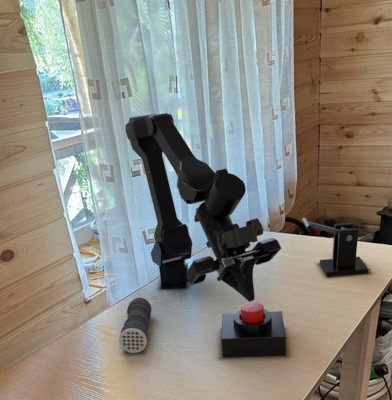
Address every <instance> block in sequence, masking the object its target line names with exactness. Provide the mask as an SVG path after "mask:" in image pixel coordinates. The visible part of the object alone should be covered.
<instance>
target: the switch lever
mask: <svg viewBox="0 0 392 400" xmlns="http://www.w3.org/2000/svg"><path fill="white" fill-rule="evenodd" d="M301 221H302V223H303V224H304V226H305V228H306V229H307V231H311V230H313V229H315V230H320V231H323V232H327V233H331V234H333V235H334V234H337V235H338V234H339V229H335V228H334V227H332V226H328V225H323V224H320V223H318V222H312V221H309V219H308V218H307V217H303V218H302V219H301ZM343 229H349V228H345V227H341V229H340V230H343Z"/></svg>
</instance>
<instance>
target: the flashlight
mask: <svg viewBox="0 0 392 400" xmlns="http://www.w3.org/2000/svg"><path fill="white" fill-rule="evenodd" d="M126 313H127V314H126V315H127V316H126V317H127V319H125V321H124V323H123V326H122V328H121V331H120V335H119V338H118V343H119V345H120V347H121V348H122V349H123V351H125V352H128V353H130V354H138V353H140V352H142V351H144V349H145V348H146V346H147V343H148V338H149V332H148V331H149V325H148V322H149V319H150V318H151V315H152V306H151V303H150V302H149V300H147V299H146V298H145V297H135V298H133V299H132V300H131V301H130V302H129V303H128V305H127V309H126Z"/></svg>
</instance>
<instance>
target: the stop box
mask: <svg viewBox="0 0 392 400" xmlns="http://www.w3.org/2000/svg"><path fill="white" fill-rule="evenodd" d="M220 335H221V336H220V337H221V338H220V340H221V341H220V342H221V354H222V355H221V356H222V358H246V357H247V358H248V357H278V356H279V357H280V356H286V353H287V347H286V345H287V343H286V341H287V335H286V329H285V323H284V317H283V311H282V310H279V311H278V310H276V311H269V310H267V309H265V308H264V319H263V320H262V321H260V322H257V323H247V322H243V321H242V320H241V309H239V310H238V311H236V312H229V313H222V317H221V334H220Z"/></svg>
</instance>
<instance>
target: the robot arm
mask: <svg viewBox="0 0 392 400" xmlns="http://www.w3.org/2000/svg"><path fill="white" fill-rule="evenodd" d="M124 129H125V134H126V139H128V140H129V143H130V145H131V149H132V150H133V151H134V152H135V153H136V154H137V156H138V157H139V158H140V159H141V160H142V164H143V169H144V173H145V178H146V181H147V185H148V190H149V194H150V198H151V201H152V205H153V210H154V213H155V218H156V221H157V222H156V227H155V230H154V233H153V238H154V239H153V240H154V244H153V247H152V249H151V252H150V256H151V260H152V262H153V263H154V264H156V266H158V270H159V277H160V285H159V288H160V289H180V288H181V289H182V288H186V287H187V284H189V285H190V286H194V285H198V284H201V283H204V281H205V280H206V278H207V275H208V274H211V273H214V272H217V274H218V277H217V278H216V280H217V281H218V282H223V283H224V284H226V285H227V286H229V287H231V288H232V289H233V290H235V291H236V292H237V293H238V294H240V295H241V296H242V297H243V298H244V299H245V300H247V302H254V301H255V287H254V286H255V285H254V267H255V265H256V266H259V265H263V264H265V263H268V262H270V261H271V260H272V259H274V257H275V256H276V255H277V254H278V253H279V252H280V251H281V250H282V246H281V245H280V242H279V241H278V239H276V238H274V237H271V238H268V239H263V240H260V241H259V240H258V237H260V236H262V235H264V228H263V225H262V223H261V222H260V220H259V218H252V219H250V220H247V221H246V222H245V226H242V227H240V225H239V224H238V223H233V221H232V219H231V217H230V216H231V215H233V213H234V212H235V210H236V209H237V206H238V205H240V202H241V201H242V199H243V198H244V196H245V195H246V191H247V190H246V189H247V188H246V184H245V182H244V181H243V180H242V179H241V178H240V177H238V176H237V175H236V174H234V173H230V172H229V171H228V169H227V168H220V169H216V170H215V171H214V170H213V169H212V167H211V166H210V165H209V164H208V163H207V162H204V161H203V160H200V159H199V158H197V157H196V156H195V154H194V153H193V151H192V150H191V148H190V147H189V145H188V143H187V141H186V140H185V139H184V137H183V136H182V134H181V132H180V131H179V129H178V128H177V126H176V125H175V120H174V118H173V115H172V114H171V113H168V112H162V113H150V114H149V113H148V114H143V115H136V116H132V117H129V119H128V122H127V123H126V124H125V128H124ZM163 154H164V155H163ZM164 156H165V158H166V159H167V160H168V162H169V164H170V166H171V167H172V169H173V170H174V172H175V174H176V176H177V178H176V179H177V180H176V188H177V189H178V193H179V196H180V199H182V200H183V202H184V203H185V204H186V205H194V204H198V203H200V204H199V206H198V207H196V208H195V214H194V217H193V218H194V219H193V220H194V222H195V223H199V224H200V227H201V228H202V231H203V233H204V235H205V237H206V240H207V241H206V243H205V245H206V246H207V248H208V249H209V248H211V250H212V252H213V255H214V257H215V259H214V258H213V257H212V256H210V255H208V256H204V257H201V258H198V259H194V260H193V261H191V262H192V263H191V264H190V265H189V263H188V262H186V260H189V259H192V251H193V239H192V237H191V235H190V233H189V227H188V225H187V224H186V223H183V222H182V221H181V220H180V219H179V218H178V215H177V211H176V207H175V202H174V198H173V193H172V188H171V185H170V180H169V177H168V172H167V169H166V163H165V159H164ZM256 242H257V243H256ZM251 243H256V244H255V245H254V247H253V248H252V249H250V250H246V249H249V248H250V246H251Z"/></svg>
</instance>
